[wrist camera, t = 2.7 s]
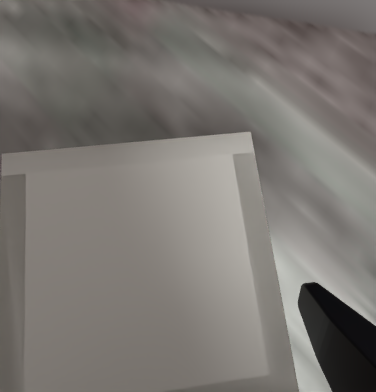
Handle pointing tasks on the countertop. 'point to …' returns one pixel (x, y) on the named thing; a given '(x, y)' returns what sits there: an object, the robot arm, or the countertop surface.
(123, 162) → the tall white carton
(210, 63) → the countertop surface
